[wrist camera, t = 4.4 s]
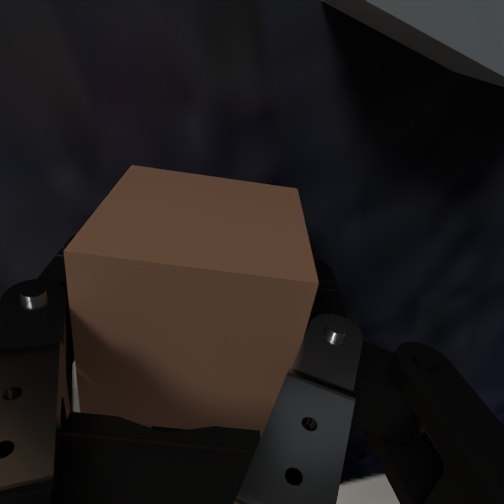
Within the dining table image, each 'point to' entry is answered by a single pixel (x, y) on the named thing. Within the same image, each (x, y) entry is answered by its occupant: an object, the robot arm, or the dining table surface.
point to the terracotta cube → (189, 299)
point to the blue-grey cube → (441, 31)
